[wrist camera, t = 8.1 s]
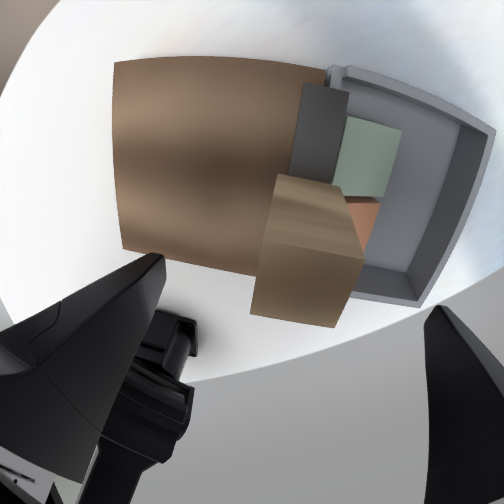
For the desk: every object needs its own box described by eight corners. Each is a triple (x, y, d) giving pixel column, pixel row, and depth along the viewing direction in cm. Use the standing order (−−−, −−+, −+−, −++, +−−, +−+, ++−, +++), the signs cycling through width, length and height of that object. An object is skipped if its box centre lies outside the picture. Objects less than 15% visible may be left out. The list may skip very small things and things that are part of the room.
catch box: (406, 275, 21) (419, 308, 18) (290, 253, 22) (287, 286, 18) (464, 118, 13) (496, 130, 10) (328, 68, 14) (337, 62, 10)
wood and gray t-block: (304, 276, 19) (301, 387, 12) (261, 268, 19) (238, 377, 12) (350, 94, 12) (413, 104, 5) (293, 81, 12) (290, 70, 5)
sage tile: (368, 186, 17) (383, 196, 16) (315, 184, 16) (329, 195, 14) (385, 124, 15) (402, 131, 14) (330, 110, 13) (347, 116, 12)
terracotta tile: (348, 247, 20) (360, 259, 19) (298, 254, 18) (308, 268, 17) (366, 193, 17) (381, 203, 16) (313, 192, 16) (327, 203, 15)
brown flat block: (284, 257, 22) (282, 281, 20) (140, 230, 23) (123, 249, 20) (321, 73, 14) (326, 70, 12) (138, 63, 15) (114, 62, 12)
